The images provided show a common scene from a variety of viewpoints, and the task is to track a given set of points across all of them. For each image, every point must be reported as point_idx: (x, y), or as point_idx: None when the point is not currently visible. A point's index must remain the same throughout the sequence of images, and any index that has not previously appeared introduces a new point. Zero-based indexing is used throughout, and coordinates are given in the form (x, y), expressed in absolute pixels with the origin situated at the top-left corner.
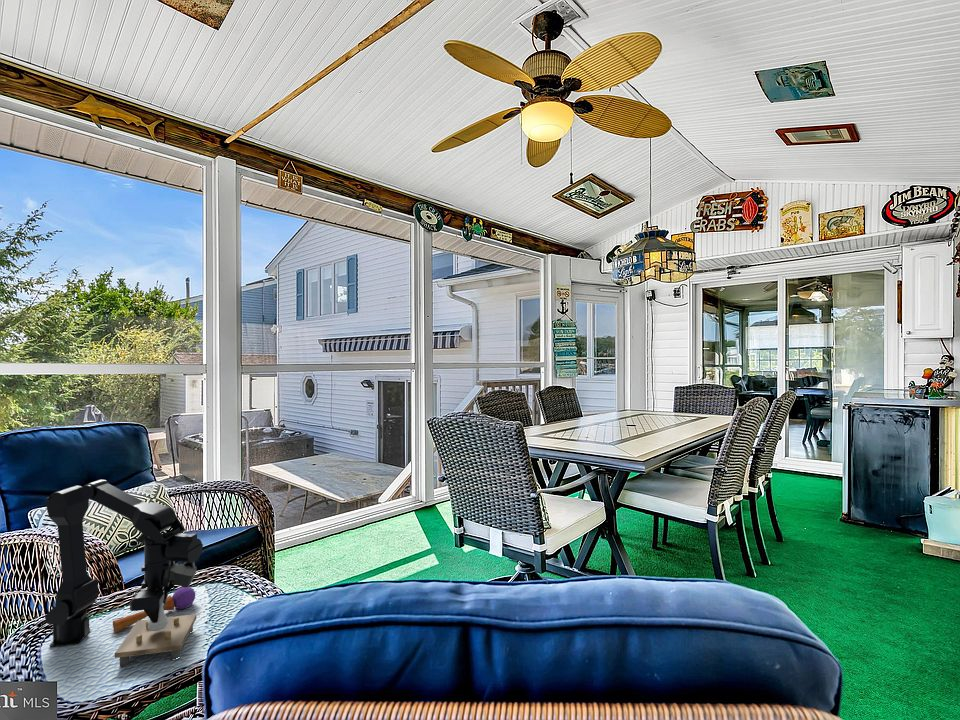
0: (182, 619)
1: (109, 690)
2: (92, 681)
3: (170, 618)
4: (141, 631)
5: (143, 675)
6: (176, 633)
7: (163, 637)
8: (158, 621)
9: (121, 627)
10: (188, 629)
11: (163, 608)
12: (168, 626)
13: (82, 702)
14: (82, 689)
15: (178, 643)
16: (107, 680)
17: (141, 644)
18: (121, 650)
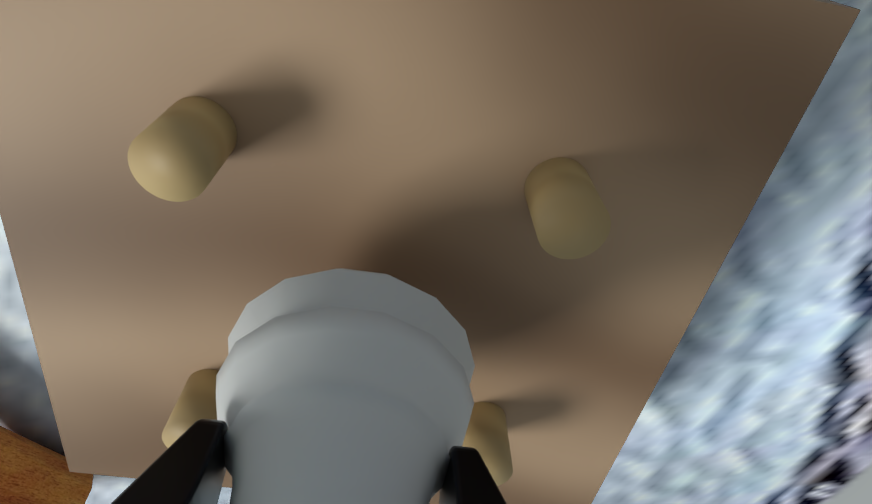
0: (83, 56)
1: (785, 401)
2: (619, 477)
3: (43, 215)
4: None
5: (756, 255)
6: (485, 101)
7: (513, 238)
8: (442, 431)
9: (60, 480)
10: None
11: (187, 498)
12: (254, 215)
13: (801, 480)
14: (670, 498)
15: (790, 45)
16: (660, 424)
17: (549, 397)
18: (567, 496)
